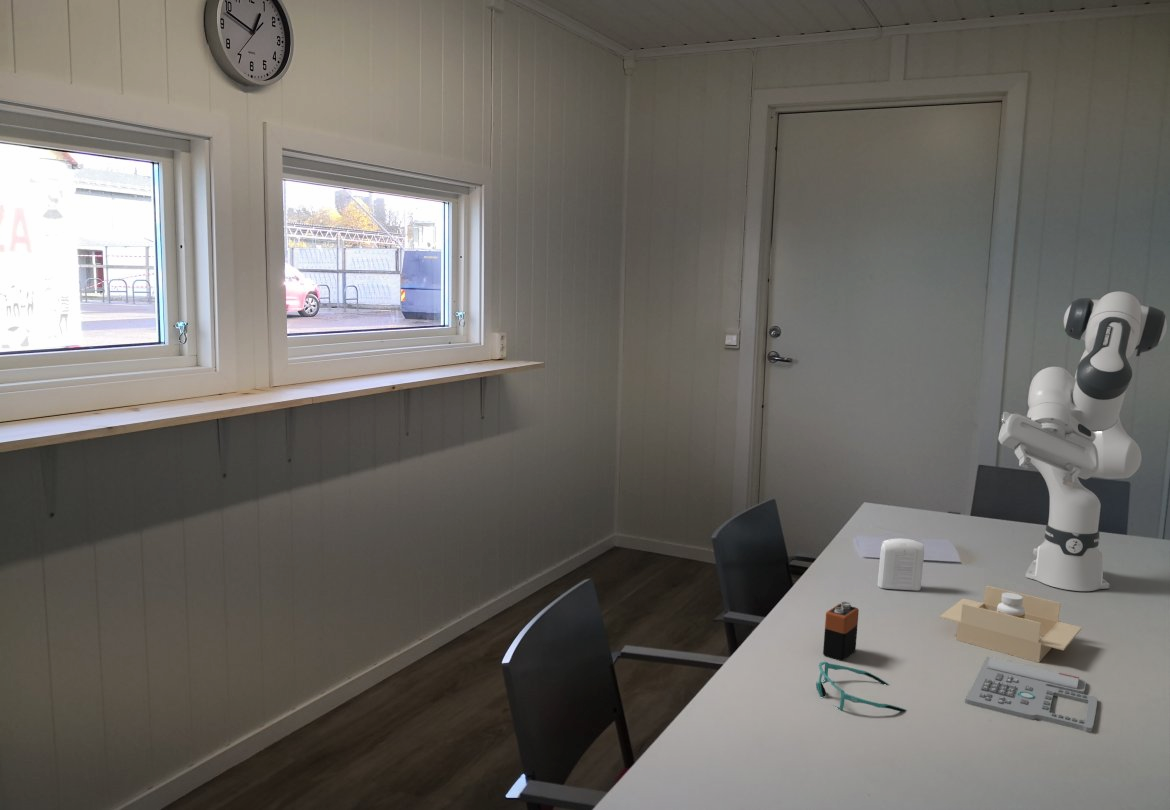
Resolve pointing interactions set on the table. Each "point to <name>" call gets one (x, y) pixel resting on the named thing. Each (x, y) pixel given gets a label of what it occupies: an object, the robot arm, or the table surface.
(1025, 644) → the carton
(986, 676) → the office telephone
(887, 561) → the photo printer
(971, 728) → the table surface
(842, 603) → the battery
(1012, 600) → the supplement bottle
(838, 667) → the sunglasses
